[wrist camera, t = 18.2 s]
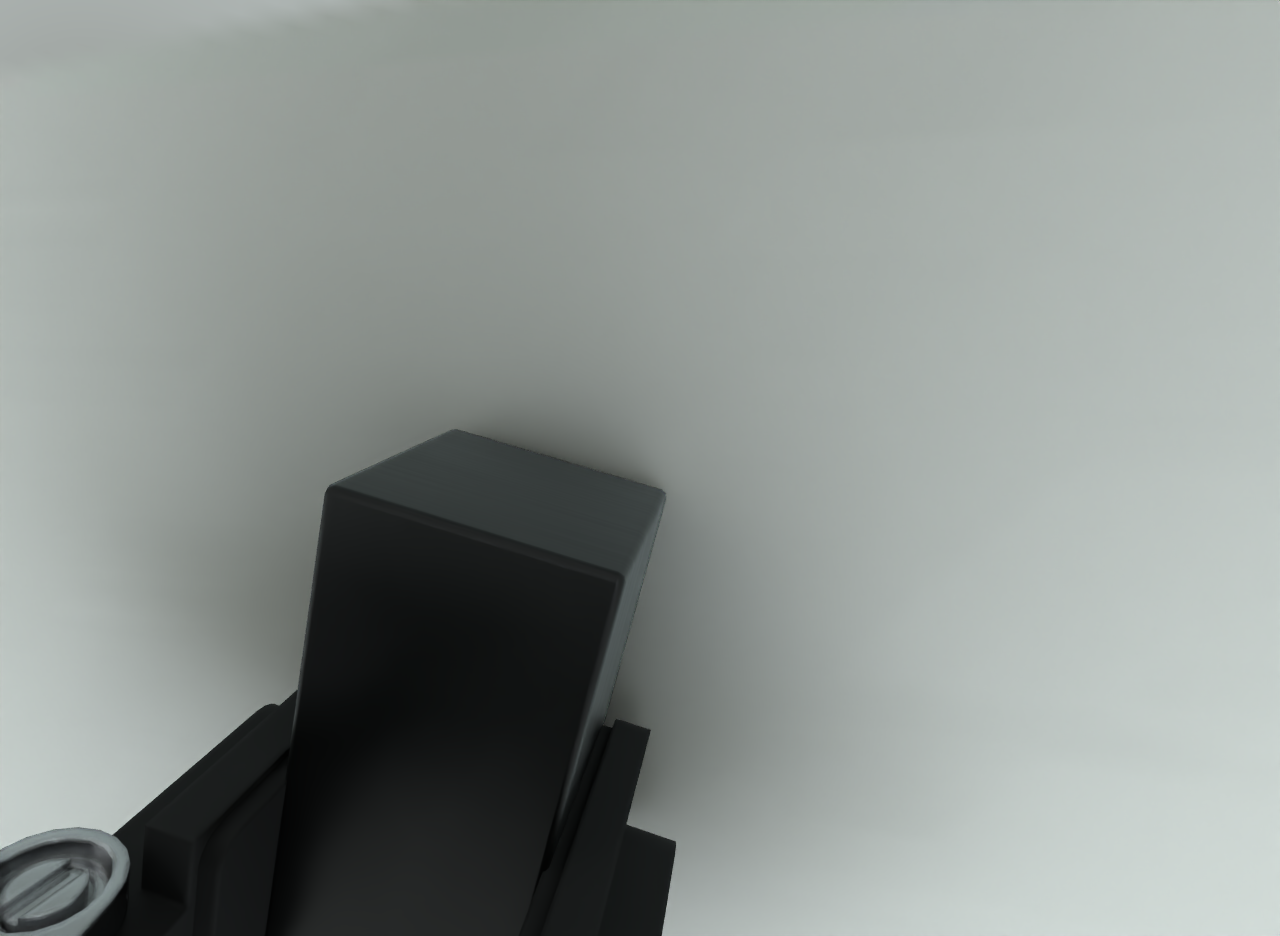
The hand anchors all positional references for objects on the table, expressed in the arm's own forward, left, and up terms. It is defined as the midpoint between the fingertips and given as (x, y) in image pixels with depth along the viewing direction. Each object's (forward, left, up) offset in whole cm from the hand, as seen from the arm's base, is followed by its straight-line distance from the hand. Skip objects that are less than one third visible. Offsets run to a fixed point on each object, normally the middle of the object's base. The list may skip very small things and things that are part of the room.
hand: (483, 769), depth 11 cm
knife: (+5, 0, 0) cm, 5 cm away
